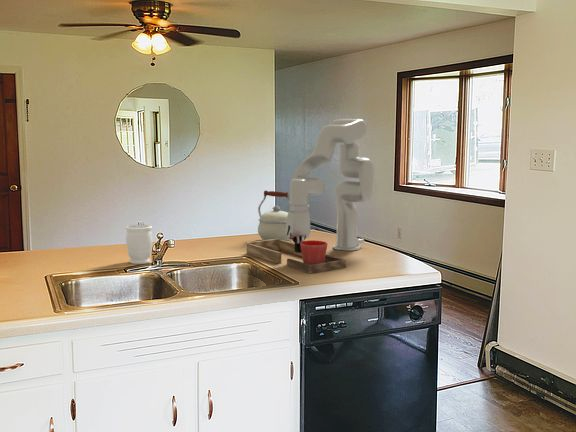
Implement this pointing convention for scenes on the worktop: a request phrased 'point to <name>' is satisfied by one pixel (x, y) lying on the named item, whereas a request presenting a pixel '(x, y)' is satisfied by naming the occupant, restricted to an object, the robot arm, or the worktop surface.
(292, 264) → the bay
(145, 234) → the jar
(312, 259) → the flower pot
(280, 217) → the kettle
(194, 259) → the worktop surface
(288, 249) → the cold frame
